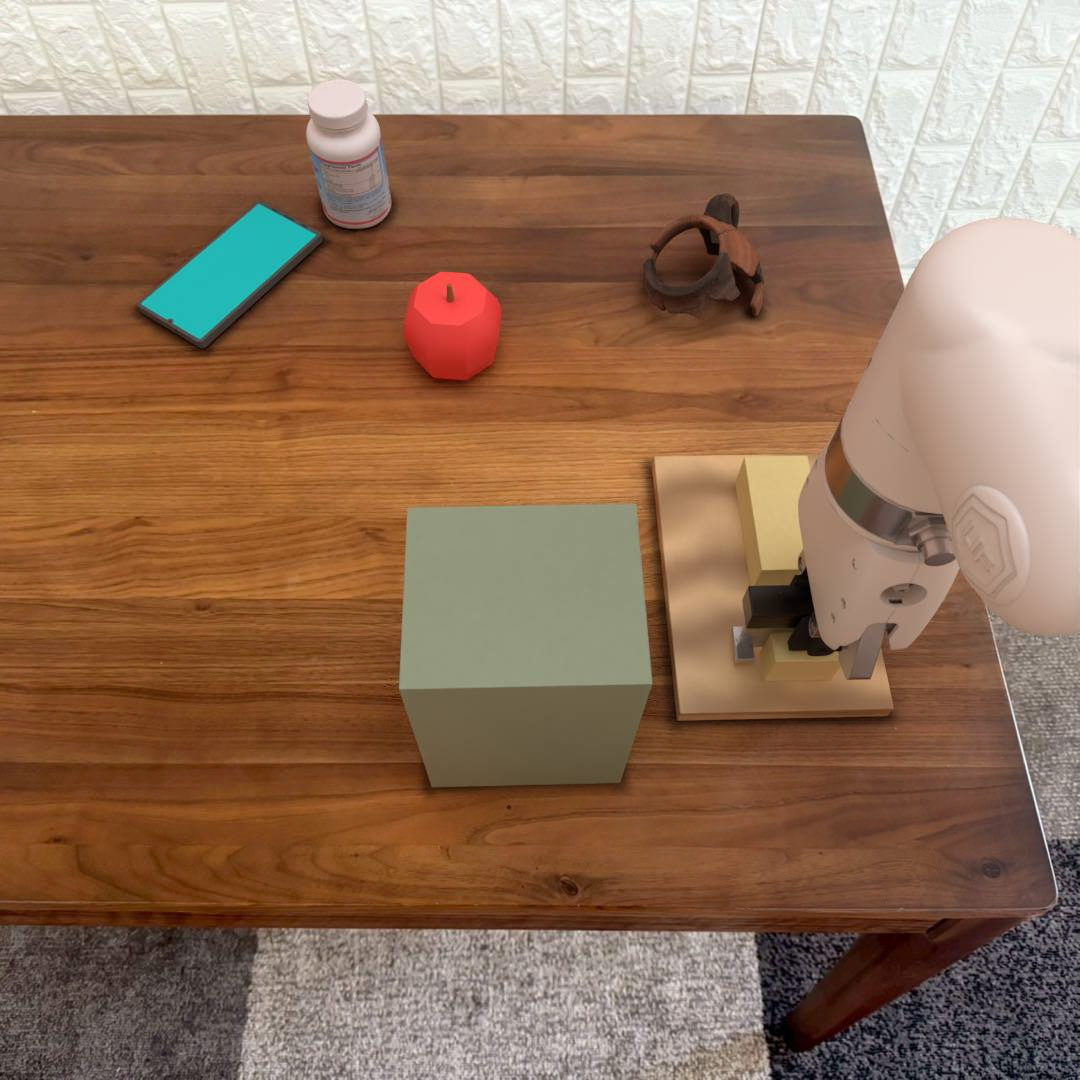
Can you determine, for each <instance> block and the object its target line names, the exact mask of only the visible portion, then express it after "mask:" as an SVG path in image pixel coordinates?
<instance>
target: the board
mask: <svg viewBox="0 0 1080 1080" xmlns="http://www.w3.org/2000/svg"><path fill="white" fill-rule="evenodd" d="M819 454H820V453H773V454H772V453H767V454H766V453H765V454H763V453H762V454H714V455H713V454H707V455H705V454H703V455H700V454H699V455H698V454H697V455H654V456H653V459H652V464H651V474H652V475H651V476H652V485H653V493H654V505H655V514H656V526H657V534H658V544H659V555H660V565H661V576H662V584H663V595H664V596H663V597H664V604H665V615H666V616H665V617H666V625H667V626H666V627H667V635H668V646H669V656H670V665H671V675H672V685H673V686H672V687H673V695H674V705H675V707H674V708H675V717H676V721H678V722H679V721H683V722H684V721H685V722H687V721H721V720H722V721H725V720H769V719H774V720H775V719H813V718H815V719H816V718H817V719H818V718H819V719H820V718H861V717H888V716H889V715H890V714H891V712H892V711H894V709H895V706H894V701H893V698H892V693H891V688H890V683H889V679H888V673H887V669H886V664H885V660H884V656H883V650H882V647H881V648H880V651H879V654H878V657H877V661H876V664H875V667H874V670H873V674H872V677H871V679H869V680H847V679H846V678H845V675H844V672H843V670H842V667H841V668H840V669H839V670H838V671H837V673H836V674H835V675H834V677H833V678H832V679H831V680H795V681H764V680H763V674H762V667H761V661H760V652H761V650H762V648H763V647H753V649H754V656H755V660H754V662H753V663H736V662H735V657H734V649H733V642H732V634H731V629H732V627H733V626H745V617H744V610H743V603H742V599H743V597H744V595H745V593H746V590H747V588H748V586H750V582H749V575H748V568H747V562H746V555H745V548H744V541H743V534H742V528H741V521H740V514H739V507H738V501H737V494H736V487H735V481H736V479H737V476H738V473H739V470H740V467H741V465H742V462H743V459H744V457H746V456H808V461H809V467H810V470H811V468H812V466H813V464H814V463H815V461H816V459H817V457H818V456H819Z"/></svg>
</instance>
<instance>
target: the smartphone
mask: <svg viewBox="0 0 1080 1080" xmlns="http://www.w3.org/2000/svg"><path fill="white" fill-rule="evenodd" d="M323 240H324V239H323V235H322V232H321V231H320V230H318V229H316V228H314V227H312V226H311V225H308V223H304V222H303V221H301V220H299V219H297V218H296V217H293V216H292V215H289V214H288V213H286V212H284V211H282V210H280V209H279V208H277V207H275V206H273V205H271V204H270V203H268V202H265V201H264V200H258V201H256V202H255V203H254V204H253V205H251V206H250V207H249V208H248V209H247V210H246V211H244V213H242V214H241V215H240V216H239V217H237V218H236V219H235V220H234V221H232V222H231V223H230V224H229V225H227V227H225V228H224V229H223V230H222V231H220V232H219V234H217V235H216V236H215V237H214V238H212V239H211V240H210V241H209V242H208V243H206V245H204V246H203V247H202V248H201V249H199V250H198V251H197V252H196V253H194V255H192V256H191V257H190V258H189V259H188V260H186V261H185V262H184V263H182V265H181V266H179V267H178V268H177V269H176V270H174V271H173V272H172V273H171V274H170V275H168V276H167V277H166V278H165V279H163V280H162V282H160V283H159V284H158V285H157V286H156V287H154V288H153V289H152V290H151V291H149V292H148V294H146V295H145V296H144V297H143V298H141V299H140V300H139V301H138V302H137V303H136V304H137V307H138V309H139V312H140V313H142V314H143V315H144V316H146V317H148V318H150V319H151V320H153V321H154V322H156V323H157V324H160V325H161V326H163V327H165V328H166V329H168V330H169V331H171V332H173V333H174V334H176V335H178V336H179V337H181V338H182V339H185V340H186V341H188V342H189V343H191V344H192V345H194V346H196V347H197V348H199V349H205V348H207V347H208V346H209V345H210V344H211V343H212V342H213V341H214V340H215V339H217V338H218V337H219V336H220V335H221V334H222V333H223V332H225V330H227V329H228V328H229V327H230V326H231V325H232V324H233V323H234V322H235V321H237V320H238V319H239V318H240V317H241V316H242V315H243V314H244V313H246V312H247V310H249V309H250V308H251V307H252V306H253V305H254V304H255V303H257V302H258V301H259V300H260V299H261V298H262V297H263V296H264V295H265V294H267V292H269V291H270V290H271V289H272V288H273V287H274V286H275V285H276V284H277V283H279V282H280V281H281V280H282V279H283V278H284V277H285V276H286V275H287V274H288V273H290V272H291V271H292V270H293V269H294V268H295V267H296V266H297V265H298V264H299V263H301V262H302V261H303V260H304V259H305V258H306V257H308V255H310V254H311V253H312V252H313V251H314V250H315V249H316V248H317V247H318V246H320V245H321V244H322V243H323Z"/></svg>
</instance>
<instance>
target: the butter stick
mask: <svg viewBox="0 0 1080 1080" xmlns="http://www.w3.org/2000/svg"><path fill="white" fill-rule="evenodd" d="M809 472H810V467H809V461H808V456H746V457H744V459H743V462H742V465H741V467H740V470H739V473H738V476H737V479H736V481H735V487H736V494H737V501H738V507H739V514H740V521H741V528H742V534H743V541H744V548H745V555H746V562H747V568H748V575H749V582H750V586H770V585H790V583H791V581H792V579H793V578H794V576H795V575H801V574H800V573H799V571H798V557H799V555H800V553H801V551H802V549H803V543H802V537H801V531H800V524H799V516H798V500H799V496H800V493H801V490H802V487H803V485H804V482H805V480H806V478H807V476H808V474H809Z"/></svg>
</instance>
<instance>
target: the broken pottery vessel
mask: <svg viewBox="0 0 1080 1080" xmlns="http://www.w3.org/2000/svg"><path fill="white" fill-rule="evenodd" d="M739 220H740V203H739V201H738V200H737V199H736V197H735V196H734V195H732V194H731V193H727V192H726V193H717V194H716V195H714V196H713V197H711V198H710V200H709V201H708V203H707V204H706V207H705V210H704V212H703V214H690V215H685V216H682V217H680V218H677V219H675V220H673V221H671V222H670V223H668V224H667V225H666V226H664V227H663V228H662V229H660V231H658V232H657V233H656V235H655V236H654V237H653V239H652V240H651V242H650V243H649V247H650V248H651V250H652V251H653V252H652V254H651V256H650V257H648V258H647V259H646V260H645V262H643V264H642V270H643V274H644V275H643V276H644V285H643V288H644V291H645V294H646V296H647V298H648V299H649V301H650V302H651V304H653V305H654V306H655V307H657V308H658V309H659V310H660V311H661V312H665V311H667V313H669V314H673V315H677V314H681V315H682V314H685V315H689V316H693V317H694V318H696V319H699V320H701V321H704V319H705V316H704V309H705V303H706V297H709V298H710V299H713V300H726V301H729V302H731V301H734V300H736V299H737V298H738V297H739V296H740V295H741V292H740V290H739V289H738V286H736V278H735V275H734V272H733V269H732V266H734V267H735V272H737V273H739V274H742V275H744V276H746V277H748V279H750V280H751V281H752V282H753V284H754V285H755V288H754V291H753V295H752V296H751V299H750V302H749V306H750V307H751V313H752V316H753V317H756V318H757V316H759V315H760V312H761V310H762V307H763V302H764V279H763V278H764V276H763V270H762V267H761V262H760V261H759V257H758V255H757V252H756V249H755V248H754V247H753V245H752V244H751V242H750V239H748V237H747V236H745V234H744V232H743V233H742V232H741V231H739V230H738V228H739V227H738V226H739ZM692 229H697V230H698V232H699V234H700V235H701V237H702V239H703V243H704V246H705V250H706V254H707V255H710V256H717V258H716V261H715V262H714V264H713V266H712V268H711V269H709V271H708V272H707V273H706V274H705V275H703V277H701V278H700V279H698V280H696V281H695V282H694V283H693V282H692V283H690V284H688V285H682V286H669V285H667V284H665V283H663V282H662V281H660V279H659V278H658V277H657V268H656V262H657V259H658V257H659V255H660V254H661V252H662V251H663V249H664V248H665V247H666V246H667V245H668V243H670V241H672V240H673V239H674V238H676V237H677V236H678V235H680V234H682V233H684V232H686V231H688V230H692Z"/></svg>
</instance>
